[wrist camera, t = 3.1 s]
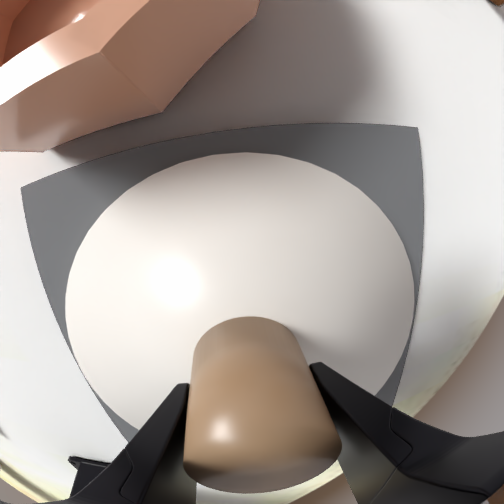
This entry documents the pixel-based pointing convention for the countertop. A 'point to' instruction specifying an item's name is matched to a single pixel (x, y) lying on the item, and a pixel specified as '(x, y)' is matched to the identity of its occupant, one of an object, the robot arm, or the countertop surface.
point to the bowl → (101, 61)
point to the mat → (224, 142)
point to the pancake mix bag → (498, 2)
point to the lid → (240, 309)
